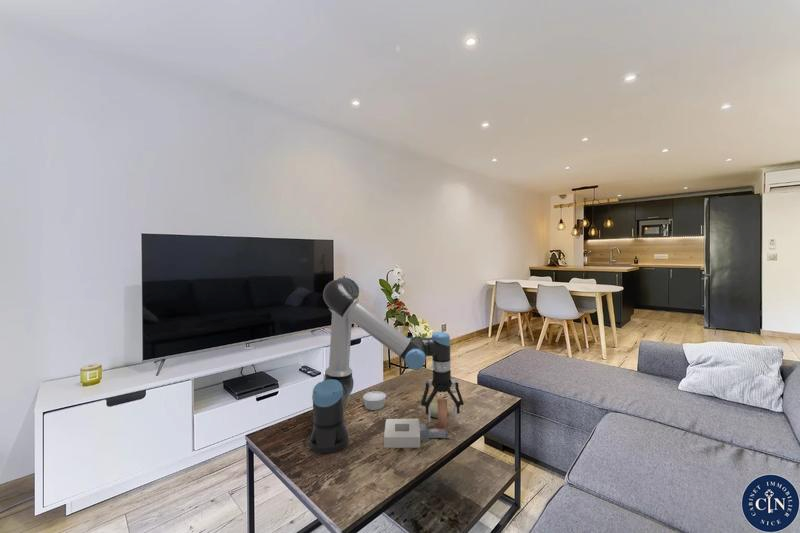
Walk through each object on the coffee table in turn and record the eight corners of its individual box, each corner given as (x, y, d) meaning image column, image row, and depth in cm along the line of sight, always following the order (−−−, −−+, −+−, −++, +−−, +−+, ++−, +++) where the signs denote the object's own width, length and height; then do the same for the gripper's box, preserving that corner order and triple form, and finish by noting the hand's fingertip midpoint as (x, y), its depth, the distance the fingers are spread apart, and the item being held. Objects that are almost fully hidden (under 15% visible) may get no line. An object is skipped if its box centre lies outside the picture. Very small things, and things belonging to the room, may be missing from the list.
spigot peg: (438, 430, 142) (437, 402, 142) (437, 425, 146) (437, 398, 146) (448, 430, 142) (447, 402, 142) (446, 425, 146) (446, 398, 146)
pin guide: (419, 441, 135) (419, 430, 135) (419, 433, 140) (419, 424, 140) (429, 440, 135) (428, 430, 135) (428, 433, 140) (428, 424, 140)
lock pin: (423, 438, 136) (422, 431, 136) (422, 434, 139) (422, 427, 139) (448, 438, 136) (448, 431, 136) (447, 433, 139) (447, 427, 139)
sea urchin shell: (449, 416, 151) (436, 402, 151) (437, 427, 152) (424, 414, 153) (450, 406, 160) (438, 394, 160) (438, 417, 161) (426, 404, 162)
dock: (383, 447, 131) (383, 437, 131) (386, 428, 145) (386, 419, 145) (420, 447, 131) (420, 436, 130) (419, 428, 145) (419, 418, 144)
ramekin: (386, 400, 172) (386, 390, 171) (385, 411, 161) (385, 400, 160) (364, 401, 172) (364, 391, 172) (361, 411, 161) (361, 401, 160)
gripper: (414, 373, 140) (415, 425, 141) (470, 372, 139) (471, 425, 140) (414, 366, 147) (415, 416, 148) (467, 366, 146) (468, 416, 148)
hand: (442, 420), depth 144 cm, fingers open, 10 cm apart
